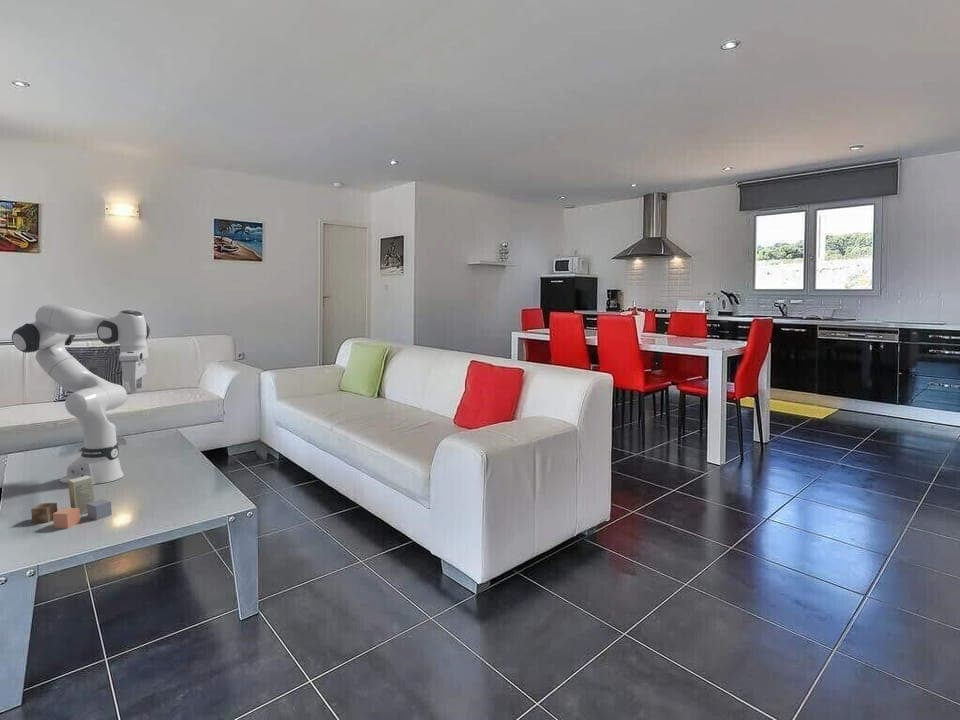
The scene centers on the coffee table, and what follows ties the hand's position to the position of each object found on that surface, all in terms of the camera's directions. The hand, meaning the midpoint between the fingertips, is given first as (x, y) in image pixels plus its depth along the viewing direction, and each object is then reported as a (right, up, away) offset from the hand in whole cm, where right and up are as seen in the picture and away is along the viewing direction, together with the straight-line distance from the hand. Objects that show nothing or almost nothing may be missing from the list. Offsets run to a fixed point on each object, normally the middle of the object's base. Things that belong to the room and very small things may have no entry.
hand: (136, 390), depth 209 cm
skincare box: (-11, -43, -13) cm, 46 cm away
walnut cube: (-19, -43, -20) cm, 51 cm away
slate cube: (-2, -43, -17) cm, 46 cm away
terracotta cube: (-8, -44, -24) cm, 51 cm away
